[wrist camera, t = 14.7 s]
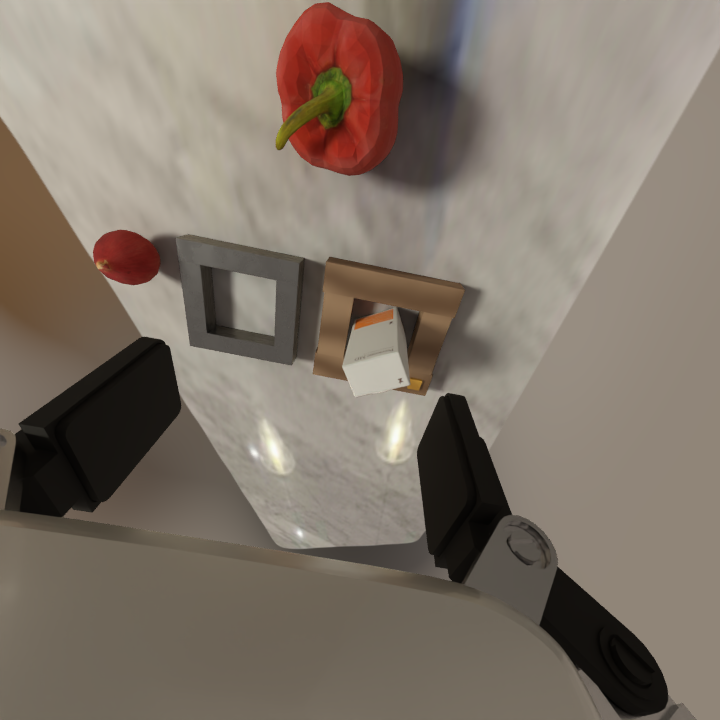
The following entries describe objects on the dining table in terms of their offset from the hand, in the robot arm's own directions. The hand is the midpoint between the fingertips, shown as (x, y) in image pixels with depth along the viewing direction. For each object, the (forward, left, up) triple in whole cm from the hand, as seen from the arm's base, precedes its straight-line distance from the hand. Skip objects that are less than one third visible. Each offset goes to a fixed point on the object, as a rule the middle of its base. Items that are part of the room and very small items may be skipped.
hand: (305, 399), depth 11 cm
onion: (+6, -26, -29) cm, 39 cm away
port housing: (+10, +4, -28) cm, 30 cm away
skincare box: (+9, +4, -29) cm, 30 cm away
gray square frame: (+10, -14, -28) cm, 33 cm away
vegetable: (-11, -4, -29) cm, 31 cm away
